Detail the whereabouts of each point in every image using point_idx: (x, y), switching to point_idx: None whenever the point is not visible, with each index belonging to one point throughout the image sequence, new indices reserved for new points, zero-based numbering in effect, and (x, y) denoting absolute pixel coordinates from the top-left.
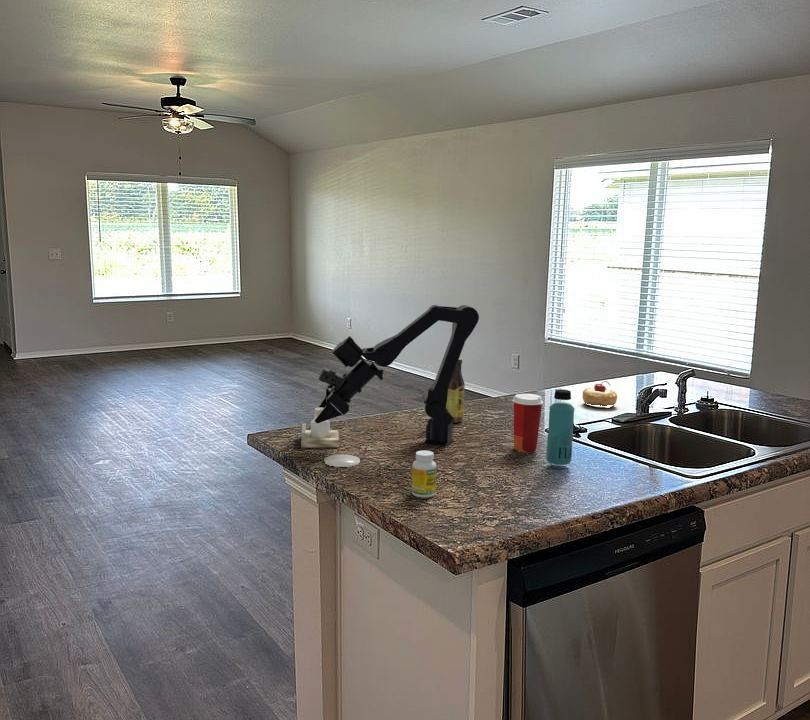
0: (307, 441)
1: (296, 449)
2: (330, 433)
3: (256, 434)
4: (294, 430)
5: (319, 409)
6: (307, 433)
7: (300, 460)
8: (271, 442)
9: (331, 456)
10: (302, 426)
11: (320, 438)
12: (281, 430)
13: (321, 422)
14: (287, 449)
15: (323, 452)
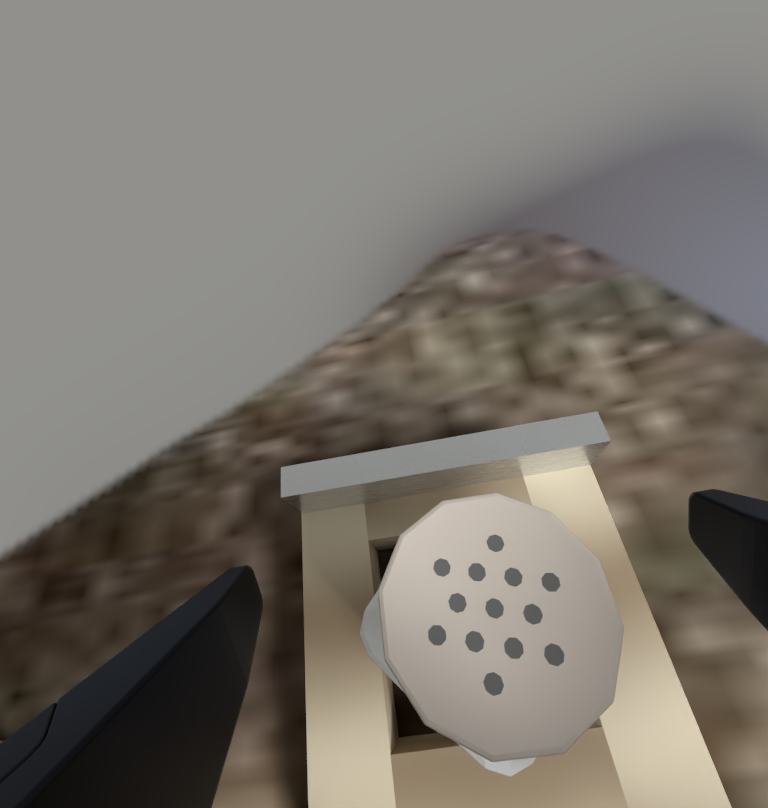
0: (304, 534)
1: (274, 481)
2: None
3: (534, 232)
4: (719, 374)
5: (419, 597)
6: None
7: (55, 549)
8: (403, 325)
9: None
10: (489, 433)
11: (355, 641)
12: (674, 307)
13: (378, 649)
14: (275, 431)
15: None
